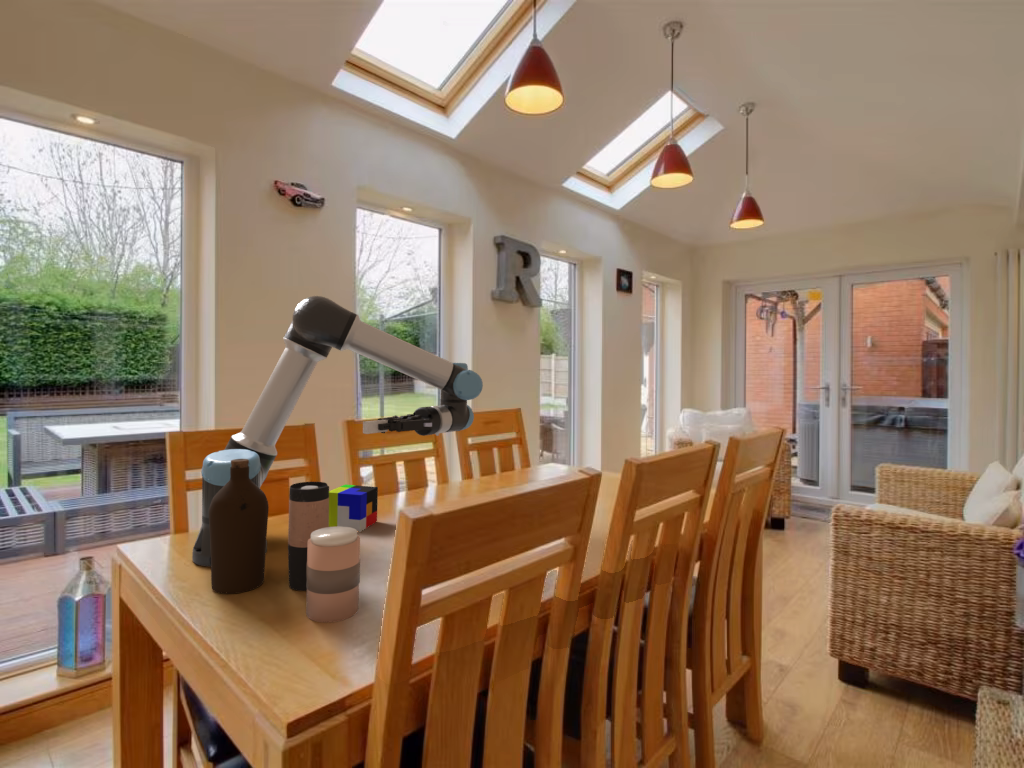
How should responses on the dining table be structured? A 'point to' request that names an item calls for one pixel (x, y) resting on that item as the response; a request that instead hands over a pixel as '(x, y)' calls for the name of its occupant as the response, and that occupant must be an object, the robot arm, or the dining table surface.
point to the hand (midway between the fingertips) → (365, 427)
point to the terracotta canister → (333, 574)
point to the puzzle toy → (353, 506)
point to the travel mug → (304, 526)
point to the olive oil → (238, 533)
